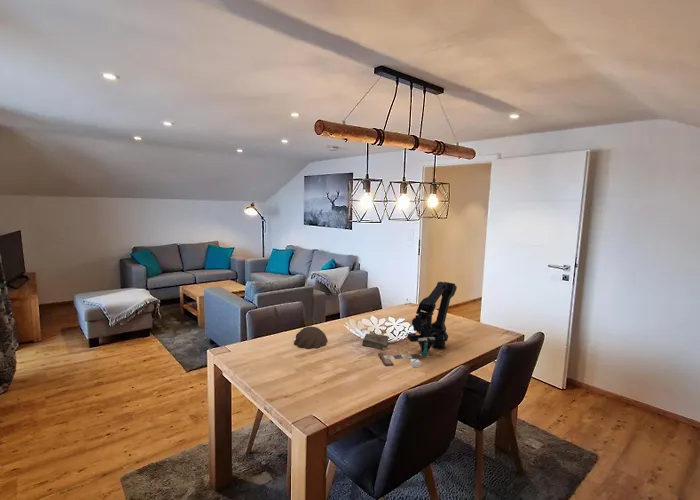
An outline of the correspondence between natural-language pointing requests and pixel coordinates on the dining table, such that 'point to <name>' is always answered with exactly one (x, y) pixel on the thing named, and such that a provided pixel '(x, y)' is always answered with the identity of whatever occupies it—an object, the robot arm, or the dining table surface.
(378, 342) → the marble piece
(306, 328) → the decorative dome
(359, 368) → the dining table surface
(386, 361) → the board
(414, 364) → the die
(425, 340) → the pawn
